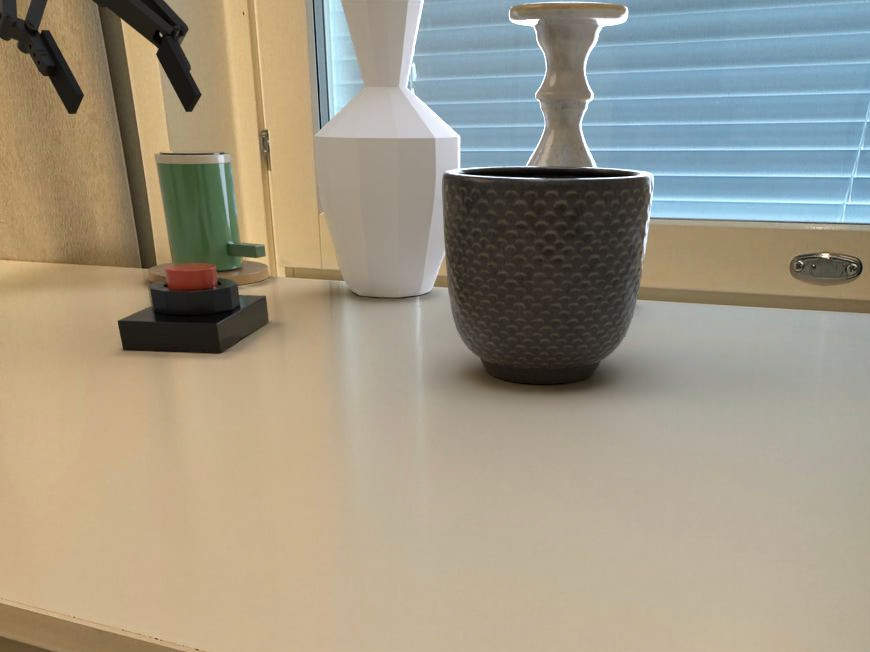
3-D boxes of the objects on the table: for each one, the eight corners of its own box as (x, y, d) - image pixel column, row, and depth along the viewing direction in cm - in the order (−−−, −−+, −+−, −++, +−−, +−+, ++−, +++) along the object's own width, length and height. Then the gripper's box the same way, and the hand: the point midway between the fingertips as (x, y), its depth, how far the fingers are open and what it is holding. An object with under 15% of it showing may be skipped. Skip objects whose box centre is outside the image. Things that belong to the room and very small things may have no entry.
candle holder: (476, 301, 88) (478, 7, 76) (553, 288, 94) (565, 15, 82) (556, 318, 81) (572, -3, 69) (633, 303, 87) (659, 7, 75)
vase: (380, 309, 84) (365, -17, 71) (299, 289, 93) (272, -3, 80) (490, 291, 92) (493, -3, 80) (405, 275, 101) (396, 8, 89)
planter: (420, 356, 68) (414, 167, 62) (582, 343, 73) (593, 164, 66) (485, 406, 57) (487, 180, 50) (672, 386, 61) (697, 176, 55)
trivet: (128, 285, 94) (126, 275, 94) (177, 267, 105) (176, 258, 105) (246, 289, 93) (245, 279, 92) (284, 269, 104) (283, 260, 104)
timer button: (160, 293, 71) (156, 269, 70) (180, 284, 74) (176, 262, 73) (208, 294, 71) (204, 271, 70) (226, 286, 74) (223, 263, 73)
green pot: (157, 268, 97) (137, 152, 91) (205, 259, 103) (189, 149, 97) (239, 276, 93) (224, 155, 87) (284, 266, 99) (273, 152, 93)
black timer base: (122, 349, 70) (111, 296, 68) (183, 318, 80) (175, 271, 78) (220, 353, 69) (212, 298, 67) (269, 321, 79) (263, 273, 77)
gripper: (128, -55, 99) (222, 125, 101) (-109, -85, 82) (10, 131, 85) (152, -113, 93) (251, 79, 96) (-97, -157, 77) (30, 76, 79)
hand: (138, 104), depth 90 cm, fingers open, 13 cm apart
